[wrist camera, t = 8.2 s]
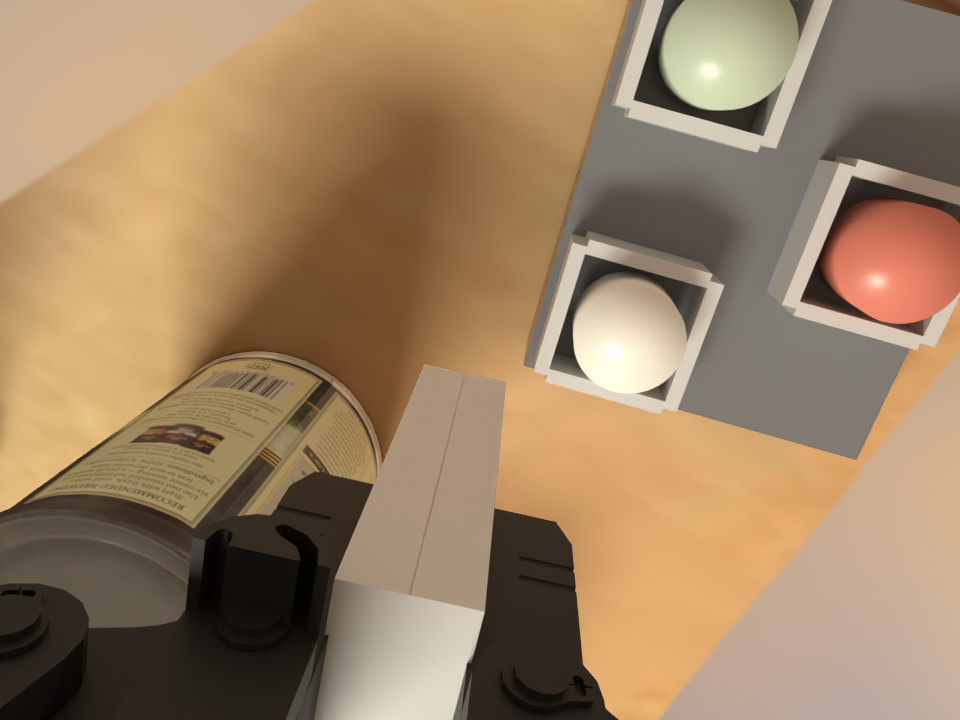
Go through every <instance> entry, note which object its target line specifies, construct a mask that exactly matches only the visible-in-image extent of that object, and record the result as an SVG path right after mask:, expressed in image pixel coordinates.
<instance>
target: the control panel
mask: <svg viewBox="0 0 960 720" xmlns="http://www.w3.org/2000/svg"><path fill="white" fill-rule="evenodd" d="M683 1H684V0H629V2H628V5H627V9H626V12H625V16H624V19H623V22H622V26H621V29H620V32H619V36H618V39H617V42H616V46H615V49H614V52H613V56H612V59H611V63H610V66H609V69H608V73H607V76H606V79H605V83H604V86H603V89H602V93H601V96H600V99H599V103H598V106H597V110H596V113H595V116H594V120H593V123H592V126H591V130H590V133H589V136H588V140H587V143H586V146H585V150H584V153H583V157H582V160H581V163H580V167H579V170H578V173H577V177H576V180H575V183H574V187H573V190H572V193H571V197H570V200H569V204H568V207H567V210H566V214H565V217H564V220H563V224H562V227H561V230H560V234H559V237H558V240H557V244H556V247H555V251H554V254H553V257H552V261H551V264H550V267H549V271H548V274H547V277H546V281H545V284H544V288H543V291H542V294H541V298H540V301H539V304H538V308H537V311H536V314H535V318H534V321H533V324H532V328H531V331H530V335H529V338H528V341H527V346H526V353H525V360H524V366H527V367H530V368H534V372H537V373H541V374H544V375H546V377H545V382H548V383H551V384H555V385H558V386H562V387H565V388H569V389H572V390H576V391H579V392H583V393H587V394H590V395H594V396H597V397H601V398H604V399H608V400H611V401H615V402H618V403H622V404H625V405H629V406H632V407H636V408H639V409H643V410H646V411H650V412H654V413H657V414H661V411H662V409H663V408H664V409H668V410H671V411H675V412H677V409H679V410H682V411H686V412H689V413H693V414H696V415H700V416H703V417H707V418H710V419H714V420H717V421H721V422H724V423H728V424H731V425H735V426H739V427H742V428H746V429H749V430H753V431H756V432H760V433H763V434H767V435H770V436H774V437H777V438H781V439H784V440H788V441H791V442H795V443H799V444H802V445H806V446H809V447H813V448H816V449H820V450H823V451H827V452H830V453H834V454H837V455H841V456H844V457H848V458H851V459H855V460H857V458H858V456H859V454H860V452H861V449H862V447H863V445H864V443H865V441H866V439H867V437H868V435H869V433H870V431H871V428H872V426H873V424H874V422H875V420H876V418H877V416H878V414H879V412H880V410H881V407H882V405H883V403H884V401H885V399H886V397H887V395H888V393H889V391H890V388H891V386H892V384H893V382H894V380H895V378H896V376H897V374H898V372H899V370H900V367H901V365H902V363H903V361H904V359H905V357H906V355H907V353H908V351H909V348H910V349H914V350H917V349H918V347H919V345H920V343H921V344H924V345H928V346H931V347H935V346H936V344H937V342H938V340H939V338H940V336H941V334H942V332H943V330H944V328H945V326H946V323H947V321H948V319H949V317H950V315H951V313H952V311H953V309H954V307H955V305H956V303H957V301H958V299H959V297H960V293H959V294H958V295H957V297H956V298H955V299H954V300H953V301H952V302H951V303H950V304H949V305H948V306H946V307H945V308H944V309H943V310H941V311H940V312H938V313H936V314H935V315H933V316H931V317H929V318H926V319H924V320H921V321H917V322H913V323H906V324H894V323H887V322H882V321H880V320H877V319H874V318H872V317H871V316H869V315H867V314H866V313H864V312H862V311H861V310H859V309H858V308H856V307H855V306H853V305H852V304H850V303H849V302H847V301H846V300H844V299H842V298H841V297H840V296H838V295H837V294H835V293H834V292H833V291H832V290H831V289H830V288H829V286H828V285H827V284H826V282H825V280H824V279H823V276H822V274H821V270H820V266H819V254H820V251H821V249H822V246H823V244H824V242H825V239H826V237H827V234H828V232H829V230H830V227H831V225H832V222H833V221H834V220H835V218H837V217H838V216H839V215H840V214H841V213H842V212H843V211H845V210H846V209H847V208H849V207H851V206H852V205H854V204H856V203H859V202H861V201H864V200H867V199H871V198H878V197H889V198H895V199H900V200H904V201H908V202H912V203H916V204H920V205H924V206H928V207H932V208H936V209H939V210H941V211H943V212H945V213H947V214H949V215H950V216H952V217H953V218H955V219H956V220H957V221H958V222H959V223H960V16H957V15H954V14H950V13H946V12H943V11H939V10H935V9H932V8H928V7H925V6H921V5H917V4H914V3H910V2H906V1H903V0H789V1H790V3H791V5H792V6H793V9H794V12H795V14H796V18H797V23H798V33H799V34H798V46H797V51H796V55H795V58H794V61H793V63H792V65H791V68H790V70H789V71H788V73H787V75H786V76H785V78H784V79H783V80H782V82H781V83H780V84H779V85H778V86H777V87H776V89H775V90H774V91H772V92H771V93H770V94H769V95H768V96H766V97H765V98H763V99H762V100H760V101H758V102H756V103H754V104H752V105H750V106H747V107H744V108H739V109H734V110H713V111H709V110H700V109H695V108H693V107H690V106H688V105H686V104H684V103H682V102H681V101H679V100H678V99H676V98H675V97H674V96H673V95H672V94H671V92H670V91H669V90H668V89H667V87H666V85H665V84H664V82H663V80H662V77H661V75H660V71H659V68H658V61H657V50H658V42H659V38H660V35H661V32H662V29H663V27H664V25H665V23H666V21H667V20H668V18H669V17H670V15H671V14H672V12H673V11H674V10H675V9H676V8H677V7H678V6H679V5H680V4H681V3H682V2H683ZM622 271H629V272H636V273H641V274H643V275H646V276H648V277H650V278H652V279H654V280H655V281H657V282H658V283H659V284H660V285H661V286H662V287H663V288H664V289H665V290H666V291H667V293H668V295H669V296H670V298H671V300H672V301H673V303H674V305H675V306H676V308H677V309H678V311H679V313H680V314H681V316H682V319H683V321H684V324H685V328H686V335H687V343H686V350H685V353H684V356H683V359H682V361H681V363H680V365H679V366H678V368H677V370H676V371H675V372H674V373H673V374H672V375H671V376H670V377H669V378H668V379H667V380H666V381H665V382H663V383H662V384H660V385H659V386H657V387H655V388H653V389H650V390H648V391H644V392H640V393H633V394H625V393H617V392H612V391H610V390H607V389H604V388H602V387H600V386H599V385H597V384H596V383H594V382H593V381H592V380H591V379H589V378H588V377H587V375H586V374H585V373H584V372H583V370H582V369H581V367H580V365H579V363H578V361H577V359H576V356H575V351H574V342H573V323H572V319H573V312H574V308H575V305H576V303H577V301H578V299H579V297H580V295H581V294H582V293H583V291H584V290H585V289H586V288H587V287H588V286H589V285H590V284H591V283H593V282H594V281H595V280H597V279H599V278H600V277H602V276H605V275H607V274H610V273H614V272H622Z"/></svg>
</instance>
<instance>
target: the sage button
mask: <svg viewBox="0 0 960 720" xmlns="http://www.w3.org/2000/svg"><path fill="white" fill-rule="evenodd" d="M798 34H799V33H798V23H797V18H796V14H795V12H794V9H793V6H792V5H791V3H790V1H789V0H684V1H683V2H682V3H681V4H680V5H679V6H678V7H677V8H676V9H675V10H674V11H673V12H672V14H671V15H670V17H669V18H668V20H667V21H666V23H665V25H664V27H663V29H662V32H661V35H660V38H659V42H658V50H657V61H658V68H659V71H660V75H661V77H662V80H663V82H664V84H665V85H666V87H667V89H668V90H669V91H670V92H671V94H672V95H673V96H674V97H675V98H676V99H678V100H679V101H681V102H682V103H684V104H686V105H688V106H690V107H693V108H695V109H700V110H709V111H713V110H734V109H739V108H744V107H747V106H750V105H752V104H754V103H756V102H758V101H760V100H762V99H763V98H765V97H766V96H768V95H769V94H770V93H771V92H772V91H774V90H775V89H776V87H777V86H778V85H779V84H780V83H781V82H782V80H783V79H784V78H785V76H786V75H787V73H788V71H789V70H790V68H791V65H792V63H793V61H794V58H795V55H796V51H797V46H798Z"/></svg>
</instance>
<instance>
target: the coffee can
mask: <svg viewBox="0 0 960 720" xmlns="http://www.w3.org/2000/svg"><path fill="white" fill-rule="evenodd" d="M381 466H382V458H381V451H380V446H379V442H378V438H377V435H376V433H375V430H374V427H373V424H372V421H371V420H370V418H369V417H368V415H367V414H366V412H365V411H364V409H363V407H362V406H361V404H360V403H359V402H358V400H357V399H356V398H355V397H354V395H353V394H352V393H351V392H350V391H349V390H348V389H347V388H346V387H345V386H344V385H343V384H342V383H341V382H340V381H338V380H337V379H336V378H335V377H333V376H332V375H331V374H329V373H328V372H326V371H325V370H323V369H321V368H319V367H318V366H316V365H314V364H312V363H310V362H309V361H305V360H302V359H299V358H296V357H293V356H289V355H285V354H280V353H274V352H257V351H252V352H243V353H237V354H233V355H229V356H225V357H221V358H218V359H216V360H214V361H212V362H211V363H209V364H207V365H205V366H203V367H202V368H200V369H199V370H197V371H196V372H195V373H194V374H193V375H192V376H190V377H189V378H188V379H187V380H186V381H185V382H184V383H183V384H181V385H180V386H178V387H177V388H176V389H174V390H172V391H171V392H170V393H168V394H167V395H166V396H165V397H163V398H162V399H161V400H159V401H158V402H156V403H155V404H154V405H152V406H151V407H150V408H148V409H147V410H145V411H144V412H143V413H141V414H140V415H139V416H137V417H136V418H135V419H133V420H132V421H130V422H129V423H128V424H126V425H125V426H123V427H122V428H121V429H119V430H118V431H117V432H115V433H114V434H112V435H111V436H110V437H108V438H107V439H106V440H104V441H103V442H101V443H100V444H99V445H97V446H96V447H94V448H93V449H91V450H90V451H89V452H87V453H86V454H85V455H83V456H82V457H80V458H79V459H77V460H76V461H75V462H73V463H72V464H71V465H69V466H68V467H67V468H65V469H64V470H62V471H61V472H59V473H58V474H57V475H55V476H54V477H53V478H51V479H50V480H49V481H47V482H46V483H44V484H43V485H42V486H40V487H39V488H37V489H36V490H35V491H33V492H32V493H31V494H29V495H28V496H27V497H25V498H24V499H22V500H21V501H20V502H18V503H17V504H16V505H14V506H13V507H11V508H10V509H7V510H5V511H3V512H0V585H4V584H8V583H39V584H43V585H47V586H51V587H55V588H59V589H63V590H66V591H67V592H68V593H70V594H71V595H73V596H74V597H76V598H77V599H79V600H80V601H81V602H82V603H83V605H84V608H85V610H86V612H87V615H88V617H89V628H116V627H143V626H154V625H161V624H165V623H169V622H173V621H177V620H178V619H179V618H180V617H181V615H182V614H183V612H184V611H185V608H186V598H187V588H188V579H189V569H190V559H191V550H192V540H193V537H194V536H195V535H196V534H198V533H199V532H200V531H201V530H203V529H204V528H205V527H206V526H208V525H209V524H212V523H215V522H218V521H220V520H223V519H226V518H229V517H232V516H242V515H252V514H262V515H271V514H272V513H273V511H274V510H275V509H276V508H277V505H278V503H279V502H280V500H281V499H282V497H283V495H284V494H285V492H286V491H287V489H288V488H289V486H290V485H291V484H293V483H295V482H297V481H298V480H300V479H302V478H304V477H306V476H308V475H309V474H311V473H313V472H315V471H316V472H321V473H325V474H330V475H334V476H339V477H343V478H348V479H352V480H357V481H361V482H366V483H370V484H374V483H375V481H376V478H377V476H378V473H379V471H380V469H381Z"/></svg>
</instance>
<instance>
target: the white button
mask: <svg viewBox="0 0 960 720" xmlns="http://www.w3.org/2000/svg"><path fill="white" fill-rule="evenodd" d="M572 323H573V342H574V351H575V356H576V359H577V361H578V363H579V365H580V367H581V369H582V370H583V372H584V373H585V374H586V375H587V377H588V378H589V379H591V380H592V381H593V382H594V383H596V384H597V385H599V386H600V387H602V388H604V389H607V390H610V391H612V392H617V393H625V394H633V393H640V392H644V391H648V390H650V389H653V388H655V387H657V386H659V385H660V384H662V383H663V382H665V381H666V380H667V379H668V378H669V377H670V376H671V375H672V374H673V373H674V372H675V371H676V370H677V368H678V366H679V365H680V363H681V361H682V359H683V356H684V353H685V350H686V343H687V335H686V328H685V324H684V321H683V319H682V316H681V314H680V313H679V311H678V309H677V308H676V306H675V305H674V303H673V301H672V300H671V298H670V296H669V295H668V293H667V291H666V290H665V289H664V288H663V287H662V286H661V285H660V284H659V283H658V282H657V281H655V280H654V279H652V278H650V277H648V276H646V275H643V274H641V273H636V272H629V271H622V272H614V273H610V274H607V275H605V276H602V277H600V278H599V279H597V280H595V281H594V282H593V283H591V284H590V285H589V286H588V287H587V288H586V289H585V290H584V291H583V293H582V294H581V295H580V297H579V299H578V301H577V303H576V305H575V308H574V312H573V319H572Z"/></svg>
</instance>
